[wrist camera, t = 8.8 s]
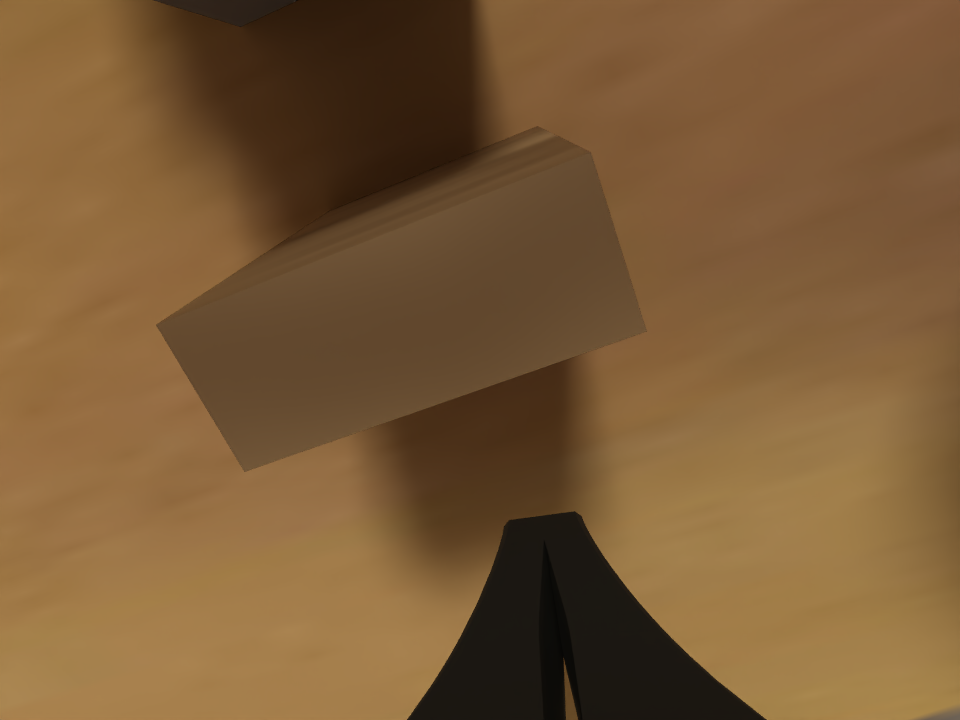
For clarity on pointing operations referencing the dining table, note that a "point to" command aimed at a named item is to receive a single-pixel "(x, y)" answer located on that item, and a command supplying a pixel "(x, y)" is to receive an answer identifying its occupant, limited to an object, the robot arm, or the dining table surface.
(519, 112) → the dining table surface
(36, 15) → the dining table surface
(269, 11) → the grey rectangular block
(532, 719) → the robot arm
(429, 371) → the tile
